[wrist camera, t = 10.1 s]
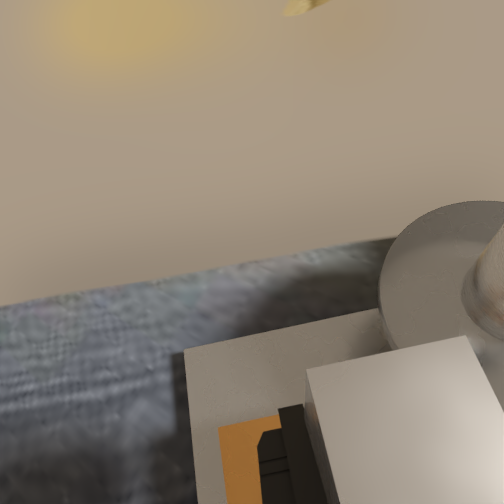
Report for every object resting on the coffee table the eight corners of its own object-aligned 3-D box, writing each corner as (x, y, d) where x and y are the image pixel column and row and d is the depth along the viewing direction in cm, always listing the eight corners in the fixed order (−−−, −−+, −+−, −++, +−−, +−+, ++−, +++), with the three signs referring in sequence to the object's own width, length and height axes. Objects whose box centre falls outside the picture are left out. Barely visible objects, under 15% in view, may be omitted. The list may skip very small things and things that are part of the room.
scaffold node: (494, 259, 32) (627, 98, 19) (683, 579, 22) (1289, 718, 8) (185, 325, 32) (104, 208, 19) (221, 680, 21) (91, 984, 8)
